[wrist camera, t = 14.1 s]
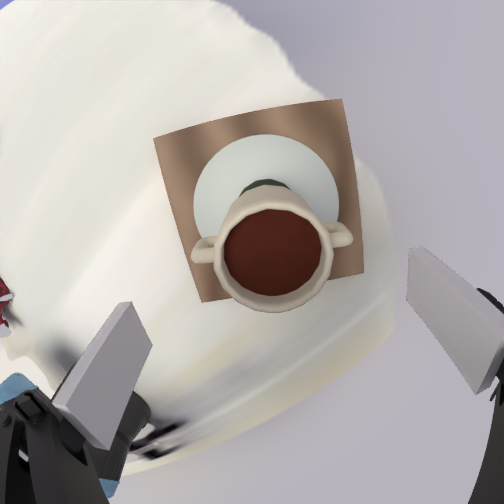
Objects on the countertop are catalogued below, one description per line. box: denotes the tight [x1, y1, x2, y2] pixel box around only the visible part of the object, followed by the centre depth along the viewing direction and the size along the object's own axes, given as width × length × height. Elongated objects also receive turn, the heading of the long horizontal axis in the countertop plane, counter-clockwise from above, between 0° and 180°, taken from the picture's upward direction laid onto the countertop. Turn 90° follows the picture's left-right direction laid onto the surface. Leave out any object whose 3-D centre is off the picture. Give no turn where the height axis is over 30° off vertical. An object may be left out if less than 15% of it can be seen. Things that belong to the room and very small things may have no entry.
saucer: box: [193, 135, 339, 238], centre depth 28 cm, size 15×15×1 cm
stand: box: [153, 99, 364, 303], centre depth 29 cm, size 20×20×2 cm
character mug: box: [191, 179, 353, 313], centre depth 22 cm, size 11×7×13 cm, turn 98°
